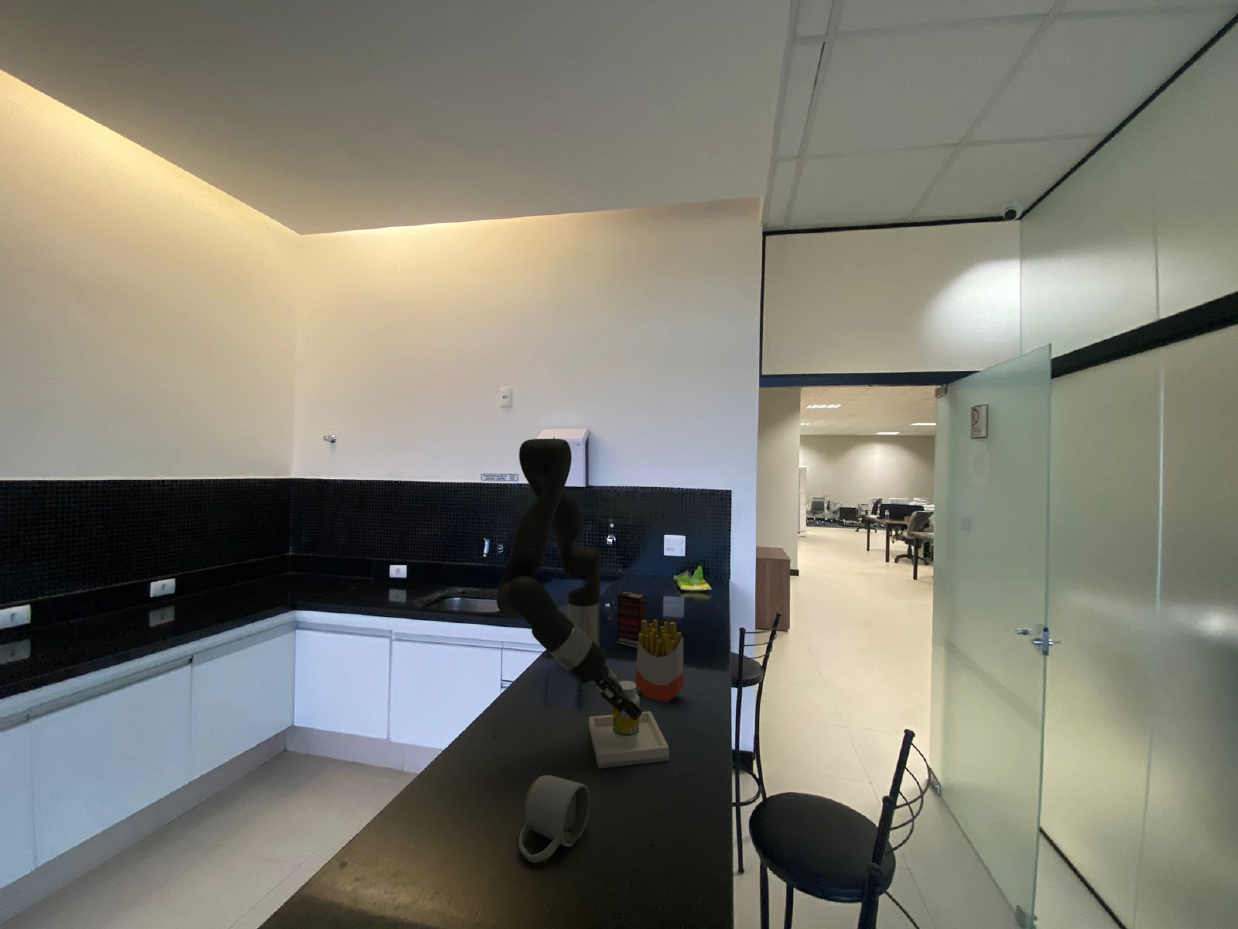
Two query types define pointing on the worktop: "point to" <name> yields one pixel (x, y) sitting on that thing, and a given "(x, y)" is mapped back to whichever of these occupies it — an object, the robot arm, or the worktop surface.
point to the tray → (627, 742)
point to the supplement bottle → (621, 720)
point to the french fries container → (659, 661)
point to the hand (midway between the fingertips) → (634, 708)
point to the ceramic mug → (554, 812)
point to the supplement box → (630, 617)
